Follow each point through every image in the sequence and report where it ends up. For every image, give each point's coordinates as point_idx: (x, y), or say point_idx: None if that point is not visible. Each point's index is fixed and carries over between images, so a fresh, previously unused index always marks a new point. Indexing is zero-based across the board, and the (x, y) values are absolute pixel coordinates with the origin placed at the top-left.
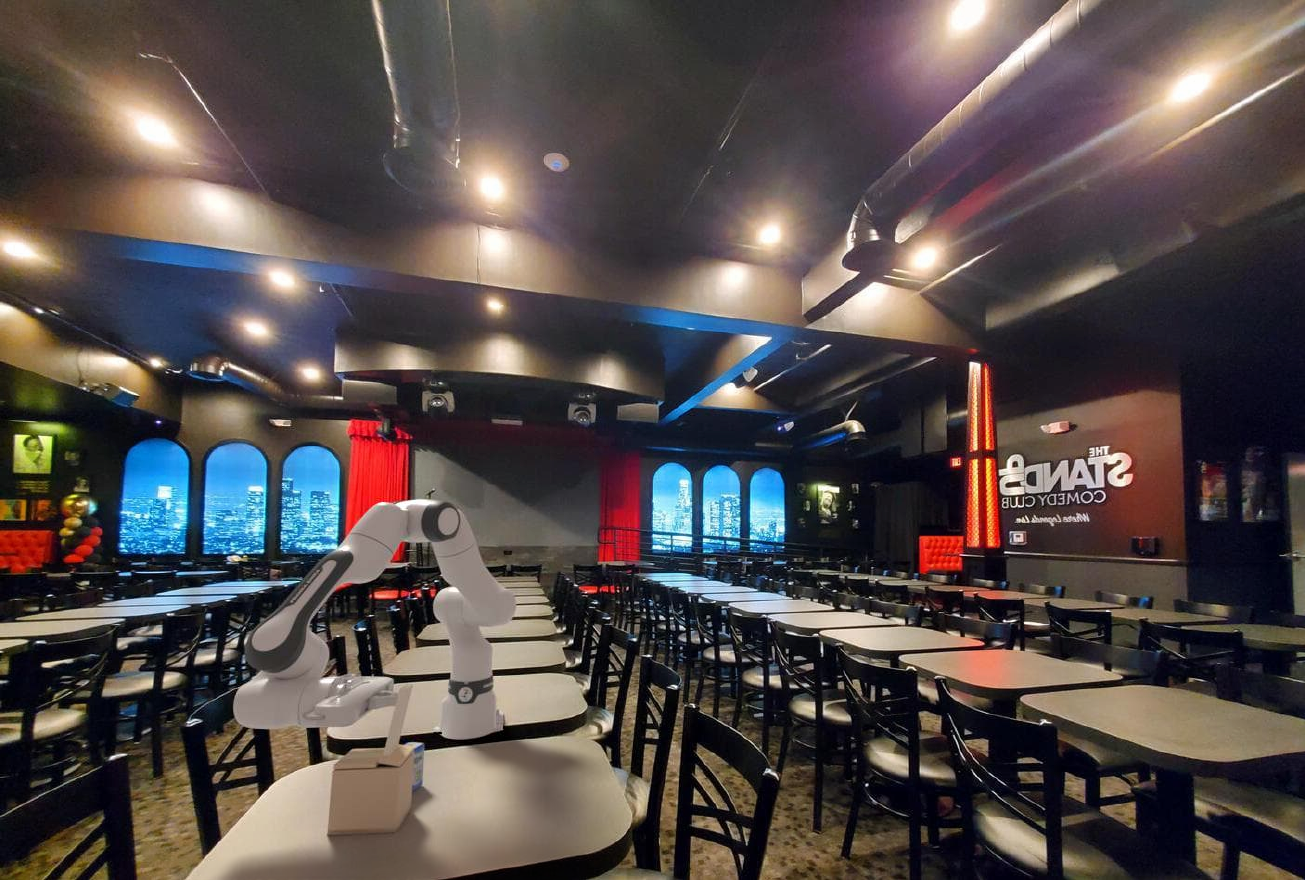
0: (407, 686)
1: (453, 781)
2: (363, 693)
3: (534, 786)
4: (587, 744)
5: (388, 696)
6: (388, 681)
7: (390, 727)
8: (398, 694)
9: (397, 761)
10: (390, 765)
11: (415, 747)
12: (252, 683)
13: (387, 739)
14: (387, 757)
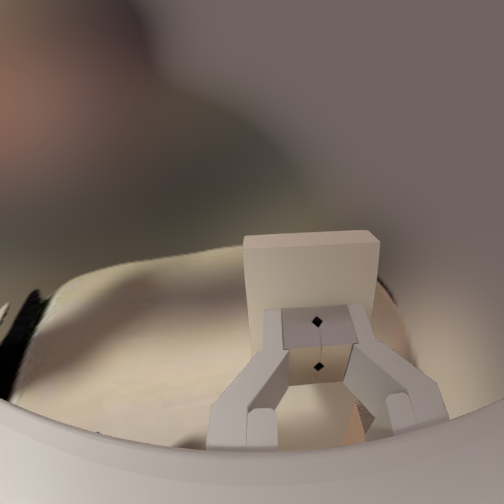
0: (296, 238)
1: (137, 413)
2: (468, 477)
3: (196, 307)
4: (96, 271)
5: (371, 336)
6: (19, 412)
7: (352, 402)
8: (377, 270)
9: (354, 410)
10: None
11: None
12: None
13: (345, 429)
14: (346, 441)
